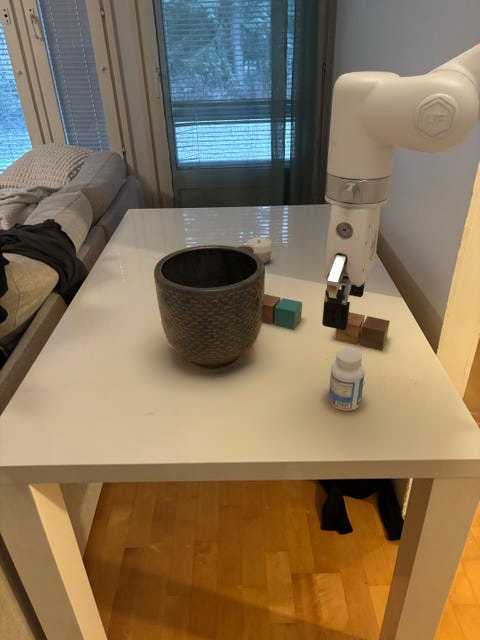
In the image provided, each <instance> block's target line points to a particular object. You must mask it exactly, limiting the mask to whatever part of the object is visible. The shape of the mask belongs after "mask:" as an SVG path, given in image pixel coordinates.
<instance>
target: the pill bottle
mask: <svg viewBox="0 0 480 640" xmlns="http://www.w3.org/2000/svg"><path fill="white" fill-rule="evenodd" d="M362 360H363V354H362V352H360V351H359V350H357V349H356V348H353V347H343V348H340V349H339V350H337V352H336V355H335V360H334V361H333V362H332V364H331V368H330V378H329V390H328V402H329V403H330V405H331V406H332V407H334V408H335V409H336V410H341V411H347V412H348V411H354V410H357V408H359V406H360V405H361V402H362V397H363V396H362V395H363V388H364V382H365V375H366V374H365V373H366V369H365V366H364V365H363V363H362V362H363V361H362Z"/></svg>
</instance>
